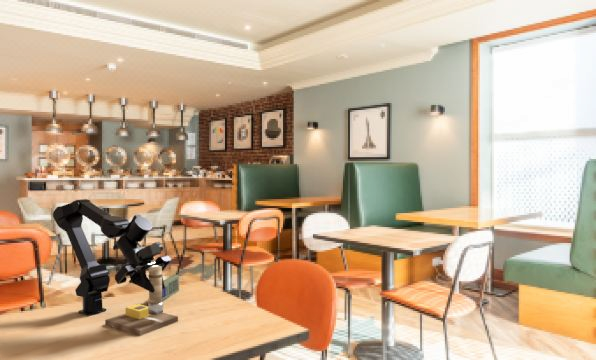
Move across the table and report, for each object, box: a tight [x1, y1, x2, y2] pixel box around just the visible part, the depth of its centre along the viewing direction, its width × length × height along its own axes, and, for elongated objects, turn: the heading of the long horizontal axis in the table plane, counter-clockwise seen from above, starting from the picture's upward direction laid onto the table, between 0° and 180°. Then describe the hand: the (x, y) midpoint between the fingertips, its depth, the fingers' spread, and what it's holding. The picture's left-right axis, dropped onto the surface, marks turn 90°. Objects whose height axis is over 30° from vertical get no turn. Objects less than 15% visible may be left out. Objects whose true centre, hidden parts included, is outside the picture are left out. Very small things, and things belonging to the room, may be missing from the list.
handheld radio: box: [144, 274, 180, 306], centre depth 159 cm, size 7×3×25 cm
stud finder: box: [124, 303, 151, 319], centre depth 137 cm, size 7×4×3 cm, turn 57°
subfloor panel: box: [104, 312, 179, 336], centre depth 134 cm, size 17×14×2 cm
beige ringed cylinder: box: [147, 266, 164, 315], centre depth 132 cm, size 4×4×14 cm
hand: (158, 290), depth 132 cm, fingers closed on beige ringed cylinder, 4 cm apart
